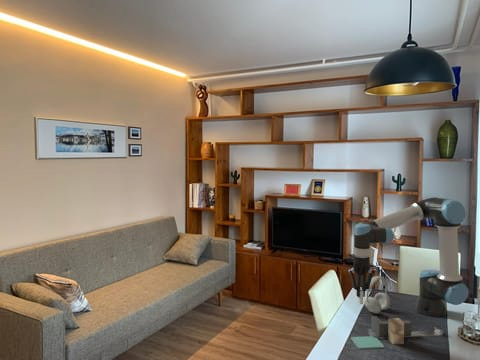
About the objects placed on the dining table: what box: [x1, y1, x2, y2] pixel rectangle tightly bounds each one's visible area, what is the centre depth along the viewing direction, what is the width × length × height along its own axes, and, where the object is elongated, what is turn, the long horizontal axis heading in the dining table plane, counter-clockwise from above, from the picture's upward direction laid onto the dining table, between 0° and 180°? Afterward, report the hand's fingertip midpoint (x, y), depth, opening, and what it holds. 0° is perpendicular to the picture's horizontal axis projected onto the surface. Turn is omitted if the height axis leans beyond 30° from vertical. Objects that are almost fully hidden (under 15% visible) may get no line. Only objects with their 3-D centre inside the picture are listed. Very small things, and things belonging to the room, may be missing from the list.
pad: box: [350, 335, 385, 350], centre depth 175 cm, size 12×10×1 cm
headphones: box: [363, 275, 392, 315], centre depth 210 cm, size 19×9×20 cm, turn 126°
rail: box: [368, 325, 444, 339], centre depth 183 cm, size 35×4×2 cm, turn 94°
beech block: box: [387, 317, 405, 345], centre depth 176 cm, size 5×5×10 cm
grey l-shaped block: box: [370, 315, 413, 336], centre depth 186 cm, size 16×9×6 cm, turn 94°
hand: (360, 303), depth 186 cm, fingers closed
